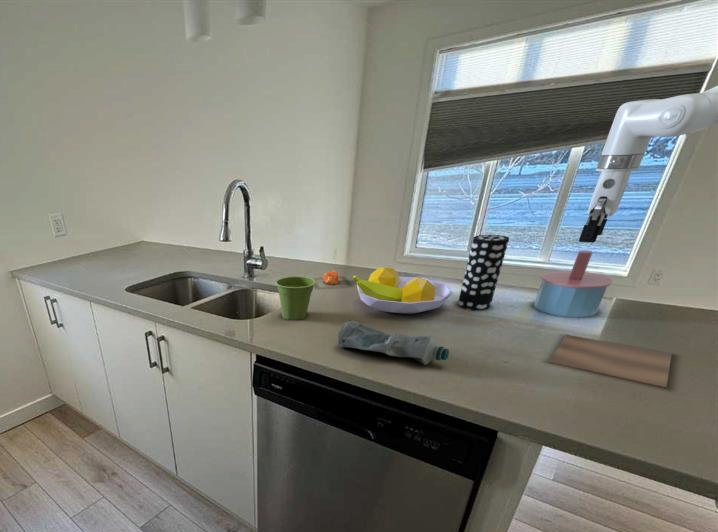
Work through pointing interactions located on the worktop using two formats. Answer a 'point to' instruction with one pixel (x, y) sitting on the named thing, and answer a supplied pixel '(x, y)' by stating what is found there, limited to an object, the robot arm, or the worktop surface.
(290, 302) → the plant pot
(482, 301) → the spotted tube
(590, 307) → the bowl
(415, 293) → the fruit bowl
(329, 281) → the raw meat
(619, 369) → the wooden cutting board
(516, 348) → the worktop surface
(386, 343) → the crushed plastic bottle
